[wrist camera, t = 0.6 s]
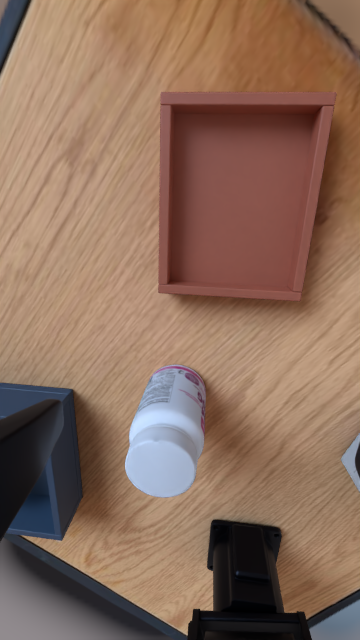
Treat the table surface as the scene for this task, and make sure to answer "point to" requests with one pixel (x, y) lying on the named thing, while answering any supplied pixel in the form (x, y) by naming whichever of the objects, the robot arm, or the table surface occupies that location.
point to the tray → (240, 191)
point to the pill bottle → (167, 432)
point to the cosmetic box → (352, 461)
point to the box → (48, 467)
